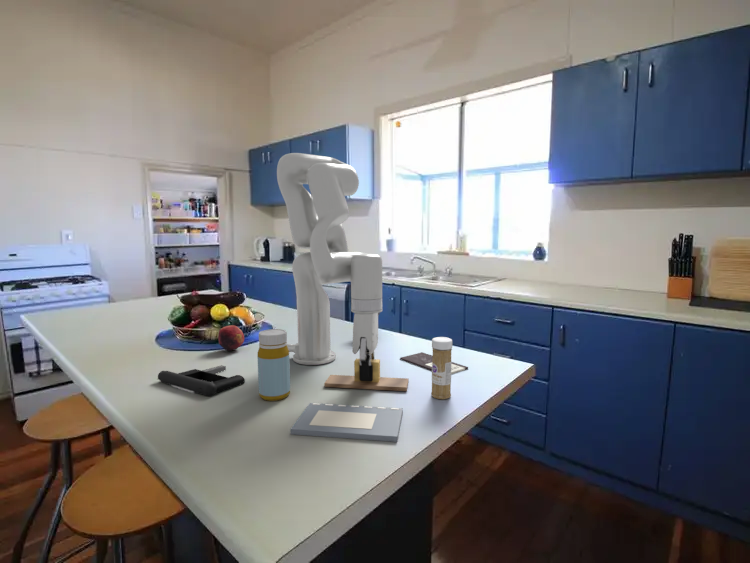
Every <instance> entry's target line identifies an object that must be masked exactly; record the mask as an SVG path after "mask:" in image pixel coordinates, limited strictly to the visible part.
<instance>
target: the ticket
mask: <svg viewBox="0 0 750 563" xmlns="http://www.w3.org/2000/svg"><path fill="white" fill-rule="evenodd" d="M403 413H404V409H403V408H402V407H401V408H400V407H388V406H387V407H386V406H373V405H371V406H369V405H355V404H354V405H353V404H352V405H351V404H340V403H339V404H336V403H322V402H320V403H319V402H309V403H308V404H307V406H306V408H305V409H304V411H302V413H301V415H300V416H298V418H297V419H296V421H295V423H294V424H292V426H291V428H290V429H289V430H290V432H289V433H290V435H297V436H298V435H299V436H312V437H313V436H314V437H324V438H339V439H354V440H355V439H356V440H365V441H366V440H368V441H380V442H381V441H382V442H395V443H398V440H399V435H400V431H401V430H400V428H401V424H402V418H403Z"/></svg>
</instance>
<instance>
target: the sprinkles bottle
mask: <svg viewBox="0 0 750 563" xmlns="http://www.w3.org/2000/svg"><path fill="white" fill-rule="evenodd" d="M431 347H432V348H431V349H432V357H433V358H432V359H433V360H432V371H431V393H430V395H431V396H432V398H434V399H436V400H447V399H449V398H451V397H452V393H451V389H452V388H451V385H452V374H451V362H452V350H453V349H452V348H453V339H452V338H449V337H446V336H437V337H433V338H432V339H431Z"/></svg>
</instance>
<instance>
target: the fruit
mask: <svg viewBox="0 0 750 563" xmlns="http://www.w3.org/2000/svg"><path fill="white" fill-rule="evenodd" d="M244 342H245V335H244V333H243V330H242V329H240V328H239V327H238V326H236V325H232V324H231V325H226V326H223V327H222V328H220V329H219V330H218V344H219V346H220V347H222V348H223V349H224V350H226V351H227V352H231V351H232V350H233V351H235V350H236V349H238V348H240V347H241V346H242V345H243V344H244Z"/></svg>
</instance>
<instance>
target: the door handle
mask: <svg viewBox="0 0 750 563" xmlns="http://www.w3.org/2000/svg"><path fill="white" fill-rule="evenodd" d="M226 368H227V367H226V365H222V364H221V365H217V366H214V367H213V366H212V367H210V368H206V369H202V370H200V369H196V368H194V369H191V370H187V371H182V372H179V373H177V372H174V371H173V372H172V371H169V370H161V371H159V373H158V374H157V380H159V381H160V382H161V383H163V384H166V385H170V386H171V387H172V388H175V389H179V390H182V391H183V392H184V391H185V392H188V393H191V394H195V393H197V394H200V395H204V396H206V397H213V396H214V395H216V393H220V392H223V391H227V390H229V389H233V388H234V387H235V388H236V387H238V386H240V384H241V385H243V384H245V382H246V381H245V377H244V376H242V375H241V374H236V375H232V376H230V377H228V376H223V375H220V374H219V373H222V372H224V370H225V371H226V370H227V369H226ZM221 371H222V372H221ZM218 372H219V373H218ZM216 373H217V374H216ZM204 380H205V381H204Z"/></svg>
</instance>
